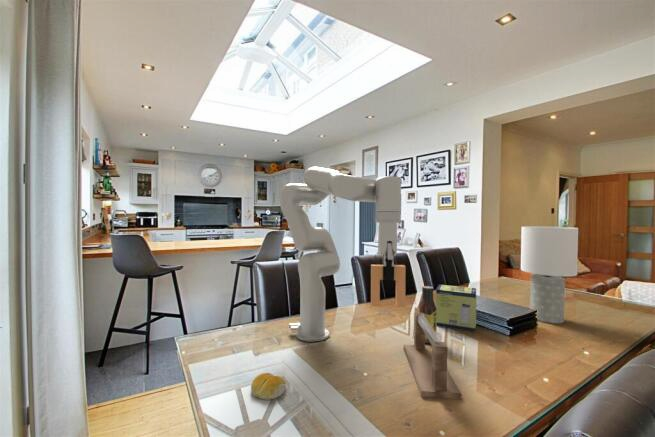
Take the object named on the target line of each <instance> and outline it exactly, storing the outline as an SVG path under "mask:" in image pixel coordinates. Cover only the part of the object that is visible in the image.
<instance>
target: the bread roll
mask: <svg viewBox="0 0 655 437" xmlns="http://www.w3.org/2000/svg"><path fill="white" fill-rule="evenodd" d="M286 385H287V384H286V381H285V379H284V378H283V377H282V376H279V375H274V374H272V373H270V372H263V373H261V374H258V375H256V377H254V378H253V380H252V381H251V386H250V390H251V394H252V395H253V396H254V397H255V398H260V399H261V400H265V401H266V400H267V401H268V400H269V401H270V400H274V399H275V400H276V399H277V398H279V397H280V396H282V394H284V393H285V391H286V388H287V386H286Z"/></svg>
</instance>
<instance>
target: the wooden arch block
mask: <svg viewBox="0 0 655 437" xmlns="http://www.w3.org/2000/svg"><path fill="white" fill-rule="evenodd" d="M383 266H384V265H382V264H370V306H371V307H380V304H381V302H380V301H381V296H380V295H381V286H380V285H381V281H382V280H383ZM406 269H407V268H406V265H405V264H394V280H393V281H395V306H396V308H406V271H407V270H406ZM383 281H384V280H383Z"/></svg>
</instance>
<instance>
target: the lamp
mask: <svg viewBox="0 0 655 437" xmlns="http://www.w3.org/2000/svg"><path fill="white" fill-rule="evenodd" d="M520 234H521V236H520V239H521V240H520V270H521V272H525V273H529V274H532V275H531V276H530V287H529V290H530V292H529V293H530V294H529V296H530V297H529V301H530V302H529V310H530V309H533V310H537V319H538V321H539V322H541V323H545V324H546V323H547V324H554V325H555V324H556V325H560V324H561V325H562V324H563V323H564V322H565V304H566V303H565V299H566V296H565V295H566V279H565V278H564V277H576V276H578V252H579V227H569V226H567V227H566V226H545V225H544V226H541V225H540V226H539V225H538V226H535V225H533V226H531V225H529V226H528V225H527V226H526V225H524V226H521V233H520ZM538 321H537V322H538Z"/></svg>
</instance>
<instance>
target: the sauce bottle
mask: <svg viewBox="0 0 655 437" xmlns="http://www.w3.org/2000/svg"><path fill="white" fill-rule="evenodd" d="M434 290H435V288H434V287H433V286H430V285H425V286H422V287H421V291H422V298H421V301H420V303H419V305H418V306H419V307H418V308H419V310H418V311H419V312H418V313H424V314H425V316H426V319H427V321H428V322H429V324H430V325H431V327H432V328H433V330H434V331H435V332H436V333H437V327H438V326H437V309H436V302H435V301H434ZM425 344H431V343H430V341H429V339H428V338H427V336H426V334H425Z"/></svg>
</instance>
